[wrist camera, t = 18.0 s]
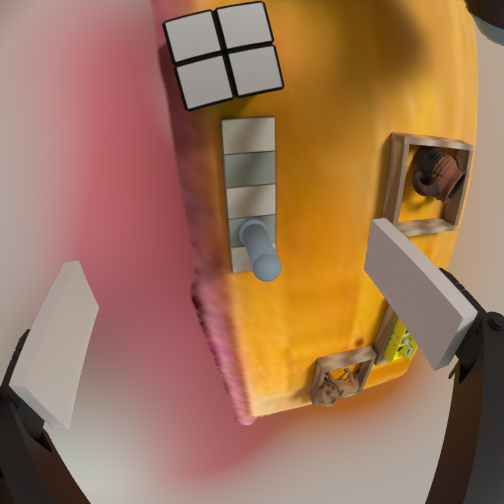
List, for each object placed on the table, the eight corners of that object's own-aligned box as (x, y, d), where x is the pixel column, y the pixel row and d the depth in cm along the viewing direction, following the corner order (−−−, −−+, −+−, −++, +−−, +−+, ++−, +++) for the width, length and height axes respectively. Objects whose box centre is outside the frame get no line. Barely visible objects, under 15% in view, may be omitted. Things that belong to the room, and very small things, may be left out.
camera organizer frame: (432, 278, 59) (441, 288, 57) (407, 344, 71) (413, 353, 68) (392, 288, 58) (400, 298, 55) (369, 355, 70) (375, 365, 67)
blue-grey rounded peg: (267, 216, 43) (288, 257, 34) (267, 242, 45) (287, 287, 36) (237, 219, 42) (251, 262, 33) (239, 245, 45) (252, 292, 35)
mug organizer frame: (460, 140, 43) (473, 145, 40) (445, 221, 52) (456, 230, 49) (391, 132, 40) (405, 137, 38) (379, 228, 49) (389, 238, 46)
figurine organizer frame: (370, 345, 67) (376, 355, 64) (356, 383, 76) (360, 392, 73) (317, 358, 65) (322, 369, 62) (309, 395, 74) (313, 405, 71)
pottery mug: (438, 130, 42) (475, 158, 38) (428, 166, 50) (459, 193, 46) (400, 158, 40) (442, 191, 36) (391, 196, 48) (426, 227, 44)
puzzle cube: (247, 18, 29) (264, -1, 21) (264, 87, 35) (286, 89, 26) (169, 37, 29) (160, 21, 21) (188, 106, 35) (185, 113, 26)
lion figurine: (306, 384, 70) (318, 412, 63) (312, 371, 68) (325, 401, 60) (355, 374, 74) (369, 399, 66) (362, 361, 71) (377, 387, 64)
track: (273, 115, 37) (275, 117, 36) (274, 262, 49) (276, 267, 48) (219, 118, 36) (220, 120, 35) (230, 268, 48) (232, 273, 47)
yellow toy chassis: (395, 339, 69) (410, 363, 62) (376, 345, 68) (391, 370, 61) (412, 291, 60) (432, 315, 53) (392, 296, 60) (412, 322, 53)
